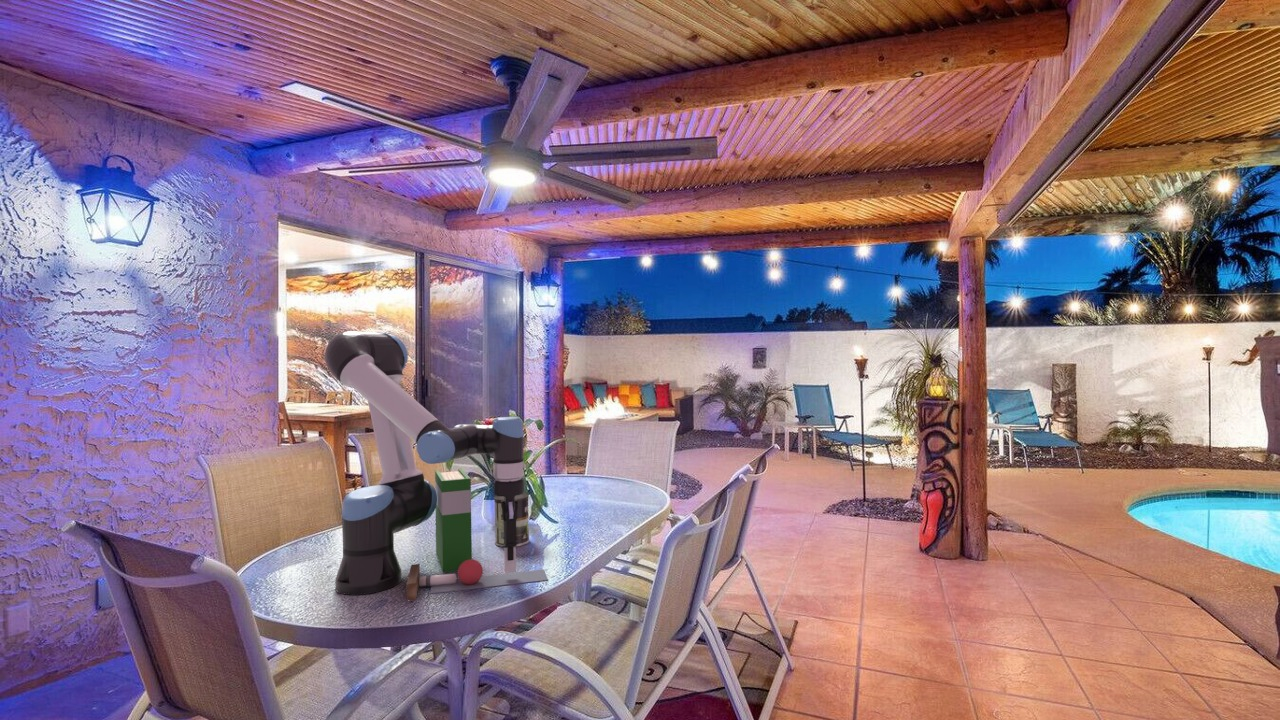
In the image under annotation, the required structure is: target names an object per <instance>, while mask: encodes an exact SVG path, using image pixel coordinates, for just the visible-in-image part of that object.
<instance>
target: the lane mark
mask: <svg viewBox="0 0 1280 720" xmlns="http://www.w3.org/2000/svg"><path fill="white" fill-rule="evenodd" d="M547 581H549V578H548V576H547V573H546V571H545V569H534V570H533V569H532V570H525V571H516V572H512V573H497V574H490V575H482V576H481V578H480V580H479V581H478V582H476V583H475V584H472V585H467V584H464V583H462V582H461V581H460V580H459V578H456V584H445V585H435V586H430V595H434V594H443V593H451V592H461V591H468V590H477V589H483V588H484V589H485V588H495V587H502V586H503V587H504V586H511V585H512V586H513V585H520V584H531V583H535V582H536V583H539V582H547Z"/></svg>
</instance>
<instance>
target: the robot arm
mask: <svg viewBox="0 0 1280 720" xmlns="http://www.w3.org/2000/svg"><path fill="white" fill-rule="evenodd" d="M408 357H409V355H408V349H407V347H406V345H405V344H404V341H402V340H401V339H400V338H399V337H398V336H396V335H394V334H392V333H391V334H390V333H387V332H380V331H377V332H371V331H367V332H366V331H357V330H355V331H353V330H350V331H349V330H348V331H344V332H341V333H338V334H337V335H335V336H334V337H332V339H331V340H329V342H328V343H327V345H326V348H325V352H324V361H325V364H326V367H327V368H328V370H329V372H330V373H331V374H332V375H333V377H335V378H336V379H337V380H338V382H340V383H341V384H342V385H343V386H345V387H352V388H353V389H354V390H355V391H357V392H358V393H359V394H360V396H362V397H363V398H364V399H366V400H367V403H368V407H369V413H370V417H371V423H372V428H373V434H374V438H375V443H376V448H377V453H378V459H379V464H380V467H381V468H380V469H381V473H382V477H381V478H380V480H379V481H378V483H377V485H369V486H368V487H367V486H365V487H361V488H357V489H355V490H353V491H350V492H349V493H348V494H346V495H345V496H344V498H343V500H342V508H341V521H342V522H341V524H342V526H341V527H342V528H341V529H342V533H341V534H342V558H341V561H340V565H339V567H338V570H337V574H336V576H335V579H334V580H335V582H334V583H335V585H334V586H335V588H336V589H335V591H336V590H337V591H338V592H337V591H336V592H337V593H339V592H340V593H339V594H342V593H345V594H344V595H349V594H360V595H369V594H374V593H378V592H382V591H386V590H388V589H392V588H393V587H395V586H397V585H398V584H400V582H401V581H402V575H403V574H402V573H403V572H402V569H401V566H400V563H399V561H398V557H397V555H396V552H395V547H394V544H395V543H394V542H395V541H394V539H395V538H394V534H396V533H399V532H401V531H405V530H407V529H409V528H411V527H416V526H418V525H421V524H422V523H424V522H425V521H427V520H429V519H430V518H431V517H432V516H433V514H434V513H435V512H436V505H437V494H436V491H435V487H434V485H433V484H431V482H430V481H428V480H427V479H425V476H424V472H422V470H420V469H418V468H417V467H416V462H415V456H414V452H413V447H412V442H411V440H412V441H413V442H414V443H415V444H416V452H417V453H418V457H419V459H421V461H422V462H423V463H426V464H429V465H434V464H444V463H447V462H449V461H452V460H453V461H454V460H456V459H461V458H465V457H469V456H474V455H492V456H493V458H492V459H493V466H492V467H493V468H492V469H493V478H494V481H493V494H494V495H495V496H501V497H502V496H504V501H501V508H502V517H503V523H504V537H503V539H504V544H505V545H502V547H501V548H502V549H504V550H503V553H504V554H503V555H504V558H503V560H504V563H503V564H504V574H506V573H515V572H517V562H516V561H517V560H516V559H517V558H516V557H517V552H516V550H517V549H516V548H517V547H516V545H517V541H516V519H517V509H518V502H517V500H515V496H516V495H521V494H523V493H524V494H525V479H524V476H525V470H524V469H526V468H527V465H526V463H525V461H524V459H525V458H524V437H525V432H524V425H523V423H524V422H523V420H522V418H520V417H518V416H501V417H500V416H499V417H495V418H493V420H492V423H491V424H472V423H464V424H457V425H455V426H454V427H453V428H452V427H451V428H449V427H448V426H447V425H445V424H444V423H443V422H441V420H439V419H438V418H436V416H434V415H433V413H431V412H430V411H429V410H428V409H426V408H425V407H424V406H423V405H422V404H421V403H419V401H417V400H416V399H415V398H414V397H413V396H411V394H409V393H408V392H407V391H406V390H404V389H403V388H402V387H401V386H400V382H401V381H402V380H403V377H404V373H403V371H404V369H405V368H406V367H407V364H406V363H408V359H409V358H408Z"/></svg>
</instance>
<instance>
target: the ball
mask: <svg viewBox="0 0 1280 720" xmlns="http://www.w3.org/2000/svg"><path fill="white" fill-rule="evenodd" d="M483 569H484V568H483V566H482V563H480V561H478V560H476V559H473V558H472V559H469V560H466V561H464V562H463V563H462V564H461V565H460V566H459V568H458V570H457V577H458V578H457V579H459V580H460V581H461V582H462V583H464V584H467V585H472V584H475V583H476V582H478V581H479V580H480V578H481V576H483V574H484V573H483V571H484V570H483Z"/></svg>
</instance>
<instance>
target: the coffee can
mask: <svg viewBox="0 0 1280 720" xmlns="http://www.w3.org/2000/svg"><path fill="white" fill-rule="evenodd" d="M529 496H530V495H529V494H527V493H525V492H524V493H523V494H521V495H516V496H515V500H517V502H518V509H517V519H516V541H517V545H516V548H517V547H521V546H525V545H527V544H528V543H529V542H530V532H529V531H530V530H529V529H530V528H529V520H530V519H529ZM493 501H494V531H495V532H494V535H495V536H494V538H495V539H494V541H495V542H494V544H495V546H498V547H501V548H502V545H505V544H504V539H503V537H504V523H503V517H502V508H501V501H504V496H502V497H501V496H496V495H495V496H494V497H493Z"/></svg>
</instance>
